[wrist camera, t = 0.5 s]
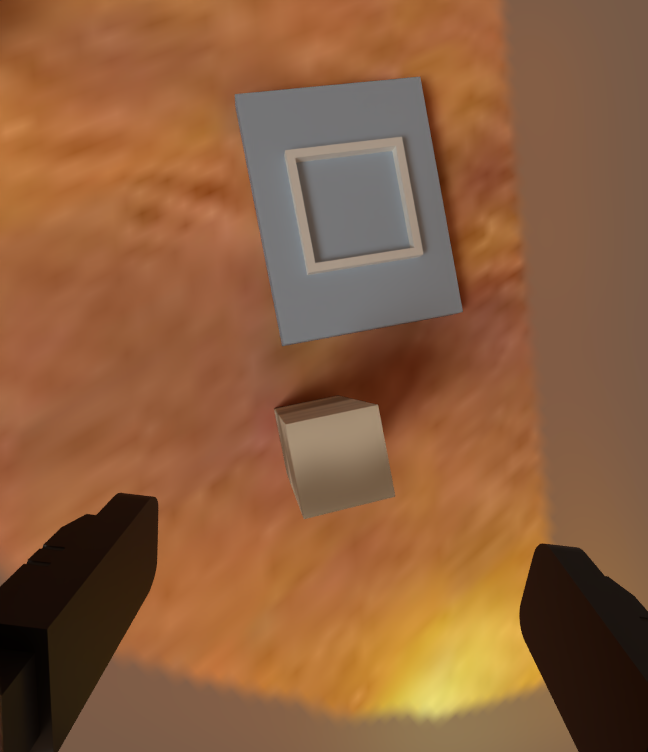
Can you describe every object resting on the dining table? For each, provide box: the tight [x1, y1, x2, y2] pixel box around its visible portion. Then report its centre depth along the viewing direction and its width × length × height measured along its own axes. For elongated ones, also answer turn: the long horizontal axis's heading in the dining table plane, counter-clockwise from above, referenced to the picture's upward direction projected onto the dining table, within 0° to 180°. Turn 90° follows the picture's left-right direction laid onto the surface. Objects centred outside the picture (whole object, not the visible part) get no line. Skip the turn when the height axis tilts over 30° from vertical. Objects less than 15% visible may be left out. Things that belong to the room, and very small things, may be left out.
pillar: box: [274, 396, 395, 519], centre depth 29 cm, size 5×5×11 cm
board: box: [235, 77, 463, 346], centre depth 34 cm, size 18×14×2 cm
